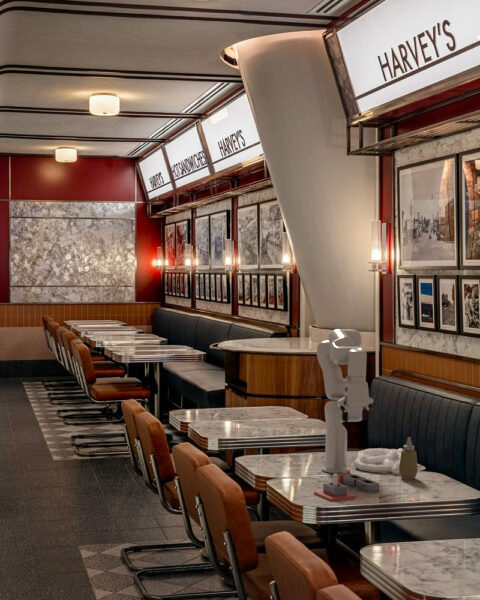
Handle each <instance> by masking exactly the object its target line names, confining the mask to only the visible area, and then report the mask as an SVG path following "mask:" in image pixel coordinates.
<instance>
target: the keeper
mask: <svg viewBox="0 0 480 600" xmlns="http://www.w3.org/2000/svg"><path fill="white" fill-rule="evenodd" d="M337 474H338V473H332V482H333V486H335V487H338V483H339V482H338V475H337ZM313 495H315V496H317V497H320V498H322V499H325V500H327V501H329V502H333V501H334V502H335V501H345V500H352V498H354V499H356V498H357V495H355V494H354V493H350V492H348V491H347V495H345V496H336V497H334V496H332V495H329V494H327V493H324V492H323V490H318V491H317V490H315V491H313ZM344 499H345V500H344Z"/></svg>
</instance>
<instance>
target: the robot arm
mask: <svg viewBox="0 0 480 600" xmlns="http://www.w3.org/2000/svg"><path fill="white" fill-rule="evenodd" d="M361 344H362V335H361V333H360V331H359V330H357V329H349V328H348V329H344V328H337V329H334V330H332V331H331V332H330V333H329V334H328V340H324V341H323V340H322V341H320V342H318V344H317V346H316V357H317V360H318V364H319V366H320V368H321V370H322V374H323V381H324V382H323V383H324V391H325V394H326V395H325V396H326V397H327V398H328V399H330V401H328V402H326V403H325V405H324V418H325V449H324V450H325V454H324V455H325V457H324V458H323V459H322V461H321V462H322V463H324V464H323V465H322V466H321V471H323V472H325V473H330V474H340V473H343V467H347V471H346V473H350V470H351V469H350V467H348V466H347V455H348V453H347V452H348V451H347V450H348V449H347V448H348V431H347V428H346V427H345V426H344V425H343V423H345V422H348V423H351V422H352V423H353V422H355V423H357V422H361V421H363V420H364V421H368V419H369V418H368V417H369V411H370V409H371V407H372V406H373V403H374V401H375V400H374V398H372V397H370V394H369V392H370V391H369V385H368V384H369V383H368V382H367V380H366V379H367V378H366V377H367V359H368V358H367V356H368V354H367V352H366V349H364V348H363V347H361V346H362V345H361ZM340 365H347V374H346V375H347V376H346V377H345V378H343V373H342V372H343V371H342V368H341V367H340Z"/></svg>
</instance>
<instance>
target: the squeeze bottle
mask: <svg viewBox="0 0 480 600" xmlns="http://www.w3.org/2000/svg"><path fill="white" fill-rule="evenodd" d="M417 458H418V455H417V451H416V450H415V446H414V445H413V442H412V438H411V436H410V437H409V436H408V437H407V440H406V444H404V445H403V450H402V451H401V458H400V465H399V475H400V478H401V479H402V480H404V481H405V480H406V481H407V480H408V481H411V480H415V479H416V476H417V473H418V471H419V470H418V459H417Z"/></svg>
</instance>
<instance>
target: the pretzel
mask: <svg viewBox="0 0 480 600" xmlns="http://www.w3.org/2000/svg"><path fill="white" fill-rule="evenodd" d="M402 450H404V448H402V447H401V448H398V449H396V448H391V449H390V448H383V447H381V448H380V447H378V448H375V447H374V448H371V447H369V448H365V449H363V450H360V451H358V454H357V457H356V459H355V460H354V463H353V466H354V467H355V468H356V469H357V470H360V471H363V472H371V473H391V474H394V475H396V476H397V475H399V474H400V472H399V465H400V458H401V451H402ZM394 459H397V460H398V461H396V462H395V461H394Z"/></svg>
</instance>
